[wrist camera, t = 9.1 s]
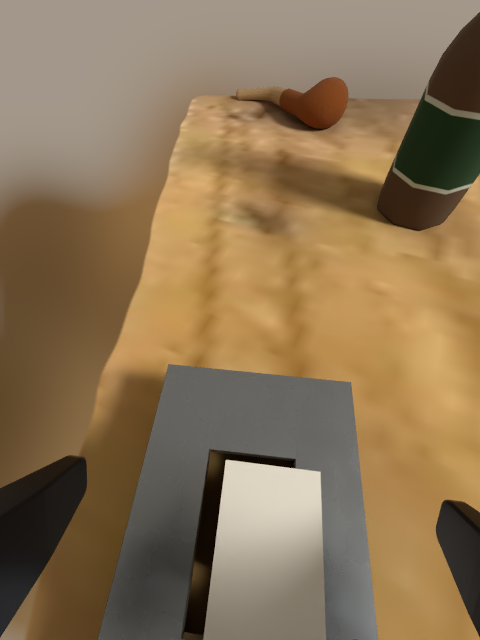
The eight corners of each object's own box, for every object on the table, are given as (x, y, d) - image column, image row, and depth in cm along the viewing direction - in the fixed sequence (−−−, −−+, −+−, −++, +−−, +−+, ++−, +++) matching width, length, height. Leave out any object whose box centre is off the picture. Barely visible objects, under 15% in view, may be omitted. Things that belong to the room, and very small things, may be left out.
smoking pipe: (330, 141, 42) (342, 93, 37) (221, 111, 47) (219, 65, 42) (346, 121, 46) (359, 74, 41) (243, 95, 51) (244, 51, 46)
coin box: (354, 777, 13) (404, 893, 9) (104, 734, 13) (49, 825, 9) (331, 405, 21) (351, 382, 17) (180, 389, 22) (168, 364, 18)
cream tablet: (261, 577, 16) (328, 707, 6) (216, 570, 16) (197, 687, 6) (266, 492, 18) (320, 471, 8) (226, 487, 18) (225, 459, 8)
